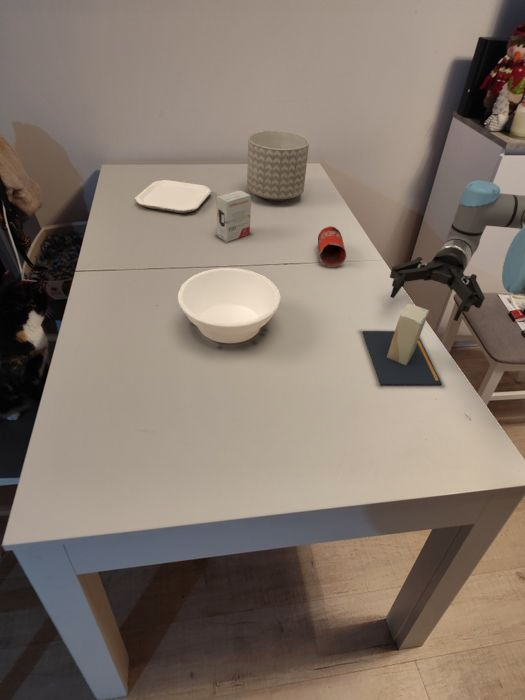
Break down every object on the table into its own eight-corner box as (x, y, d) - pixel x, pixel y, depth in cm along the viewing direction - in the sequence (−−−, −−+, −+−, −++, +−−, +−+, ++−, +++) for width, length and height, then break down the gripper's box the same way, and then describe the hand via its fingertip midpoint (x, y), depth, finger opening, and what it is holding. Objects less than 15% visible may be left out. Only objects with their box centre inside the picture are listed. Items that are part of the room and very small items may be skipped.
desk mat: (441, 385, 86) (442, 383, 86) (380, 385, 85) (381, 383, 85) (415, 333, 98) (416, 331, 98) (362, 332, 97) (362, 330, 97)
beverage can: (339, 246, 126) (343, 224, 122) (344, 268, 117) (348, 245, 113) (314, 245, 126) (317, 223, 122) (317, 267, 117) (320, 244, 113)
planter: (257, 210, 141) (259, 150, 129) (239, 187, 155) (240, 131, 143) (311, 205, 147) (319, 147, 135) (290, 183, 160) (295, 129, 148)
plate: (193, 218, 135) (193, 211, 133) (130, 208, 137) (129, 201, 136) (215, 193, 150) (214, 186, 148) (157, 184, 153) (157, 178, 151)
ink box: (240, 228, 131) (241, 188, 124) (250, 234, 129) (252, 194, 121) (216, 235, 127) (215, 195, 119) (226, 242, 124) (226, 201, 117)
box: (394, 344, 94) (408, 301, 86) (414, 352, 92) (430, 309, 85) (385, 358, 90) (399, 314, 83) (406, 366, 89) (422, 323, 81)
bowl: (226, 373, 85) (226, 340, 80) (160, 323, 96) (156, 291, 90) (297, 327, 97) (301, 296, 92) (231, 287, 108) (232, 257, 102)
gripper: (498, 292, 104) (479, 339, 90) (396, 259, 113) (365, 297, 99) (512, 264, 99) (494, 310, 85) (404, 232, 108) (372, 268, 94)
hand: (424, 303), depth 92 cm, fingers open, 13 cm apart
